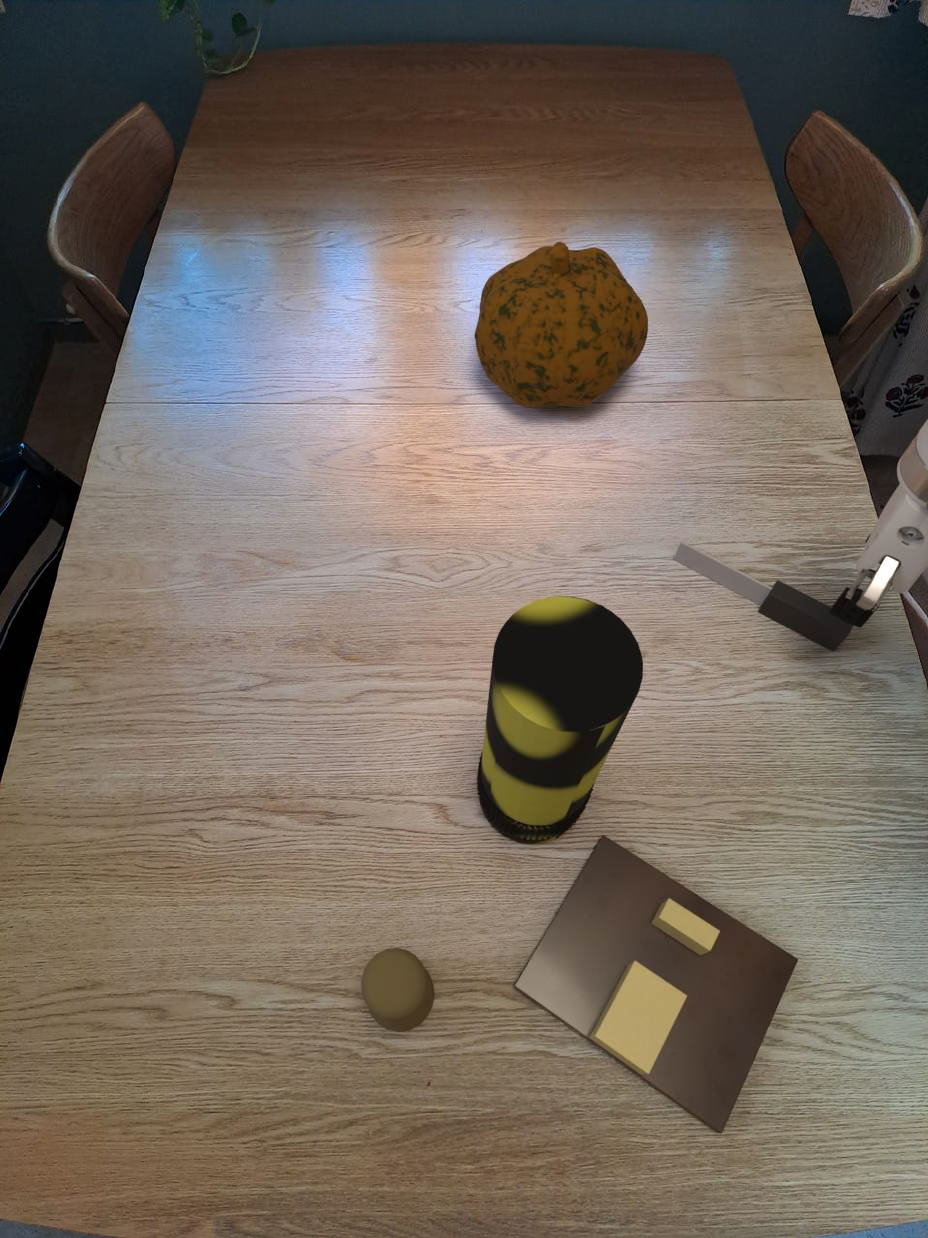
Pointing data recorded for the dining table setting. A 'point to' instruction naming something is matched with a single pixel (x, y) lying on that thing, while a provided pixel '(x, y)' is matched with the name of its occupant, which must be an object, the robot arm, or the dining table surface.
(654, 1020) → the butter stick
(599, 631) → the container
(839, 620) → the knife
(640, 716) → the dining table surface
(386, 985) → the cork
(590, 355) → the decorative pumpkin
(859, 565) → the robot arm
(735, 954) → the cutting board
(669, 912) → the butter slice
